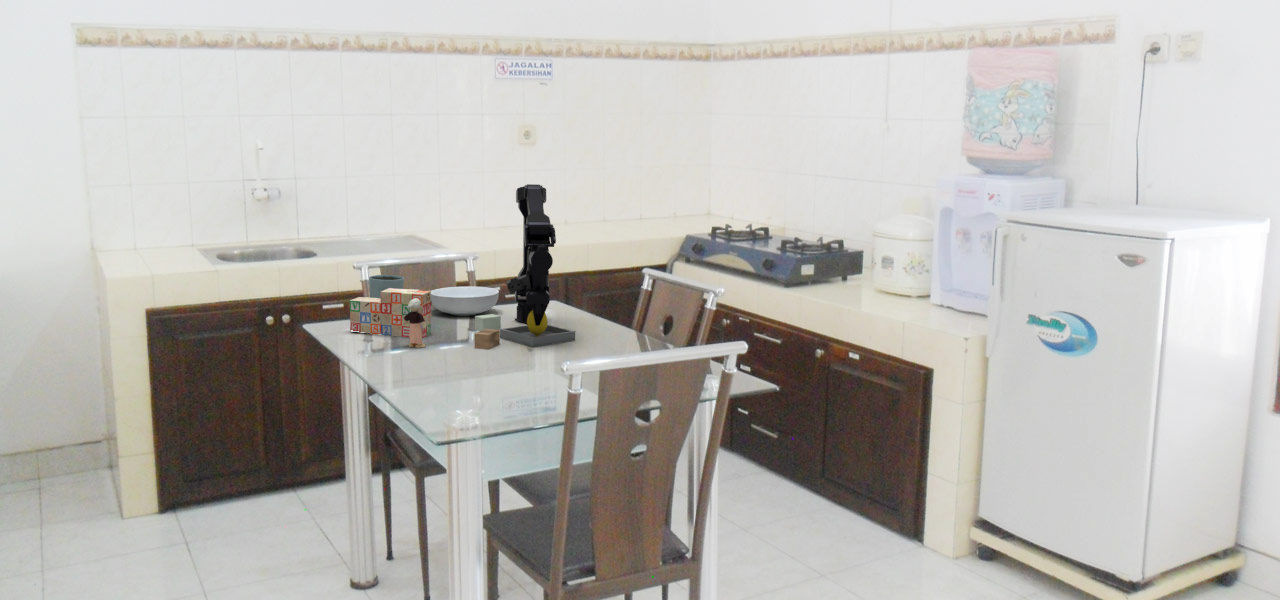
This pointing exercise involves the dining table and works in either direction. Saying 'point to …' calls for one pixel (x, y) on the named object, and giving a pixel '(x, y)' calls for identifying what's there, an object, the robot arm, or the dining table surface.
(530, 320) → the lemon
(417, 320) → the grandmother figurine
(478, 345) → the walnut block
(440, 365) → the dining table surface
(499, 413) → the dining table surface
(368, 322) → the stack of blocks
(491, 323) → the sage block
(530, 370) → the dining table surface
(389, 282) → the blue-grey pot
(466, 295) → the serving bowl
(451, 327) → the dining table surface
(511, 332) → the charcoal tray
